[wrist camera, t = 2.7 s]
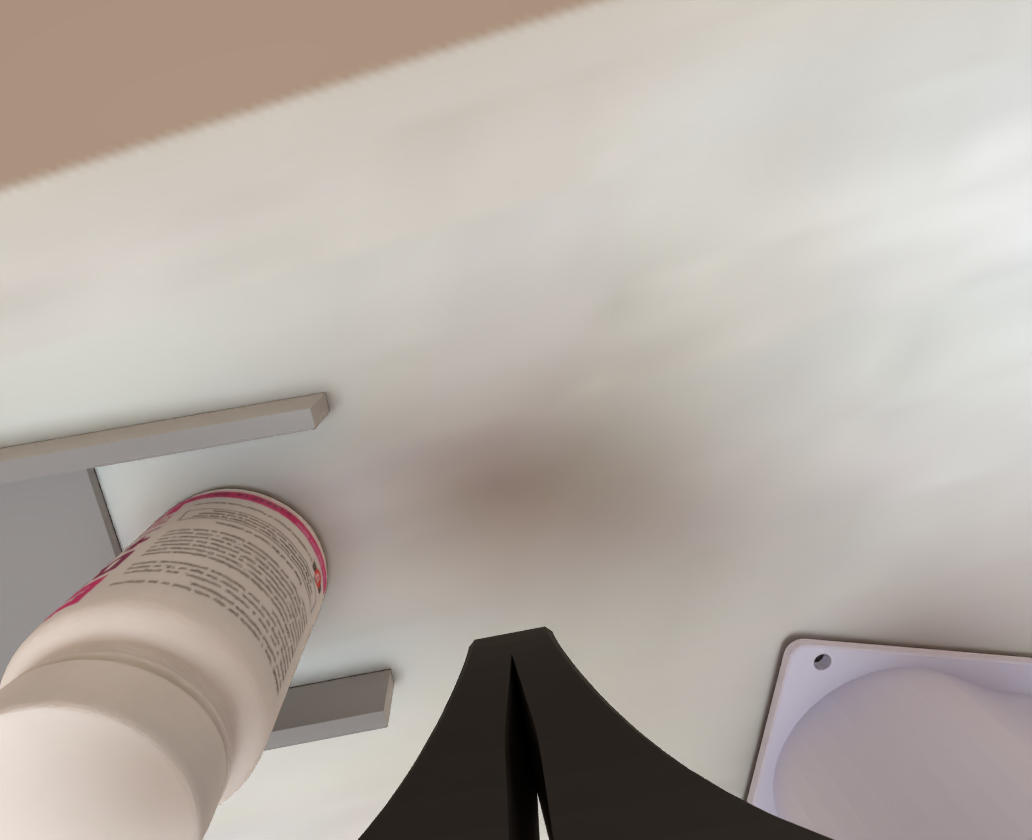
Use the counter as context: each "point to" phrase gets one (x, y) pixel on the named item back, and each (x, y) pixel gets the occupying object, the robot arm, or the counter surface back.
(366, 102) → the counter surface
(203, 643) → the pill bottle
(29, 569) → the tray
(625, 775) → the robot arm
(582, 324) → the counter surface
